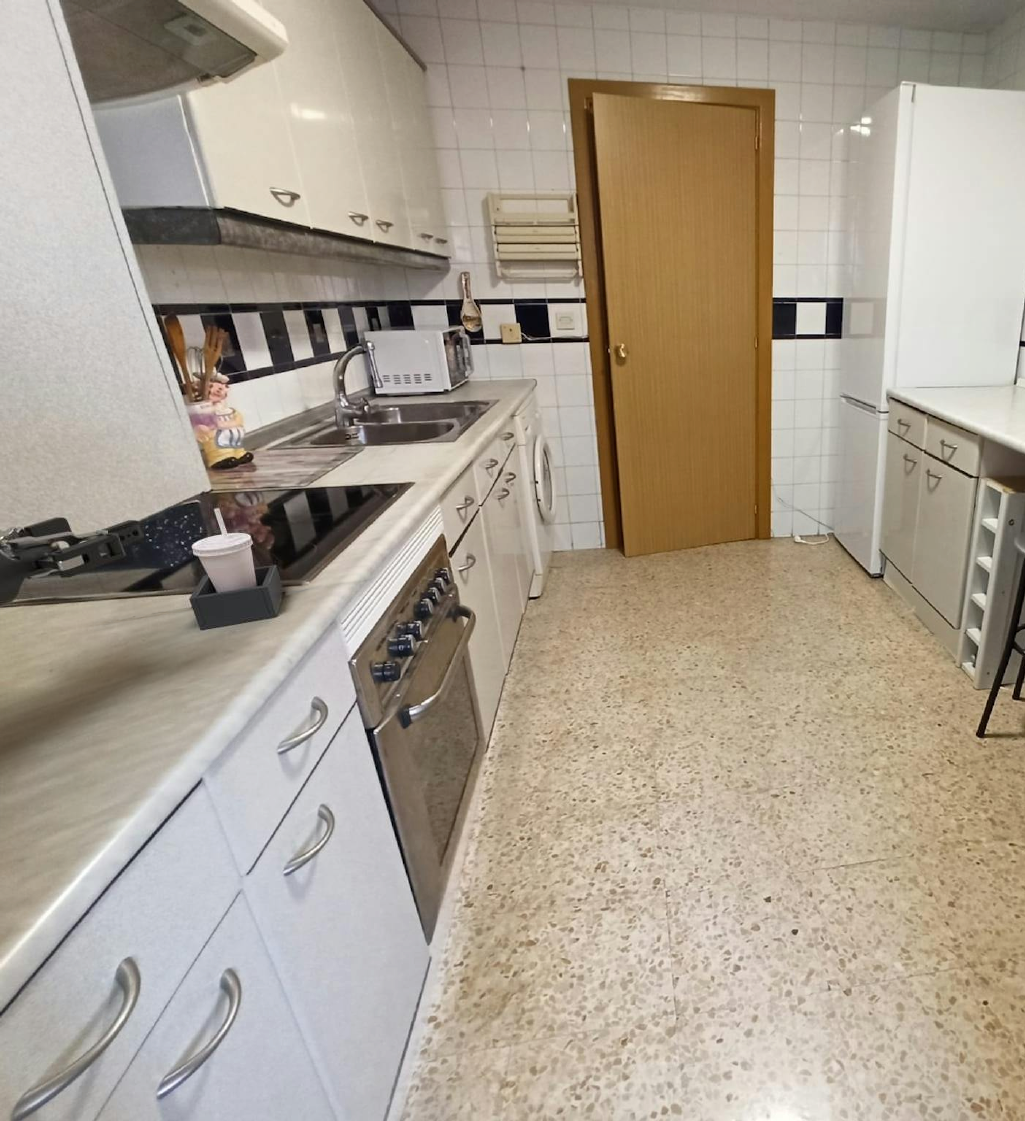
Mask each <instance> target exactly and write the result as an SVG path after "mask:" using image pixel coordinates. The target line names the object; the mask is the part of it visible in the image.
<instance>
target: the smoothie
mask: <svg viewBox="0 0 1025 1121" xmlns="http://www.w3.org/2000/svg"><path fill="white" fill-rule="evenodd" d="M213 511H214V515H215V517H216V521H217V524H218V526H219V529H220V533H221V534H216V535H212V536H207V537H205V538H202V539H200V540H197V541H195V542H194V543H193V544H192V545H191V549H192V554H193V555H194V556H196V557H198V559H199V561H200V563H201V565H202V567H203V568H204V570H205V572H206V575H208V576H209V578H210V580H211V582H212V583H213V585H214V587H215V589H216V591H217V593H219V592H226V591H232V590H238V589H245V588H251V587H257V584H256V577H255V571H254V568H255V566H254V557H253V551H252V545H253V543H254V542H253V540H252V537H251V535H250V534H248V533H245V532H231V533H229V532H228V531H227V528H226V525H225V521H224V520H223V516H222V512H221V510H220V508H219V507H217V508H214V509H213Z"/></svg>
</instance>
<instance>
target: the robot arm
mask: <svg viewBox="0 0 1025 1121" xmlns="http://www.w3.org/2000/svg"><path fill="white" fill-rule="evenodd" d="M144 537H145V534H144V531H143V528H142V525H141V523H140V521H139V520H136V519H128V520H124V521H123V522H120V523H117V524H114V525H111V526H108V527H106V528H102V529H98V530H95V531H91V532H85V533H80V534H77V533H75V532H73V531H72V528H71V526H70V524H69V521H68V519H67V518H66V517H59V516H56V517H52V518H50V519H47V520H43V521H40V522H37V523H34V524H30V525H27V526H11V527H10V528H7V529H5V530H0V608H2V607H4V606H6V605H10V604H11V603H12V602H14V601H15V600H16V598H18V596H19V594H20V593H21V592H20V591H21V587H22V585H23V583H24V581H25V580H33V579H38V578H42V577H47V576H49V574H51V573H54V572H57V573H58V575H59V577H60V578H62V579H66V578H67V579H69V578H72V577H74V576H78V575H80V574H83V573H86V572H88V571H90V570H93V569H96V568H98V567H101V566H103V565H106V564H109V563H111V562H114V561H117V560H121V559H122V558H125V557H126V556H127V554H126V552H125V549H124V547H125V546H128V545H130V544H133V543H136V542H138V541H141V540H143V539H144ZM59 542H65V543H66V544H67V545H68V547H66V546H65V547H64V546H63V547H60V545H59Z"/></svg>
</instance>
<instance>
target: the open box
mask: <svg viewBox="0 0 1025 1121" xmlns="http://www.w3.org/2000/svg"><path fill="white" fill-rule="evenodd" d="M254 571H255V577H256V584H257V587H251V588H245V589H238V590H232V591H226V592H219V593H217V591H216V589H215V587H214V585H213V583H212V582H211V580H210V578H209V576H208V574H204V575H203V576H202V578H201V579H200V581H199V582H198V584H197V586H196V587H195V589H194V591H192V594H191V595H190V597H189V598H188V600H189V603H190V605H191V609H192V611H193V614H194V617H195V619H196V623H197V624H198V628H199V630H200V631H205V630H210V629H215V628H221V627H226V626H233V625H239V624H244V623H249V622H256V621H261V620H267V619H272V618H273V619H274V618H277V617H278V614H279V611H280V608H281V604H282V602H283V599H284V596H285V591H284V587H283V583H282V580H281V577H280V573H279V571H278V567H277V564H272V565H264V566H258V567H254Z"/></svg>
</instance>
